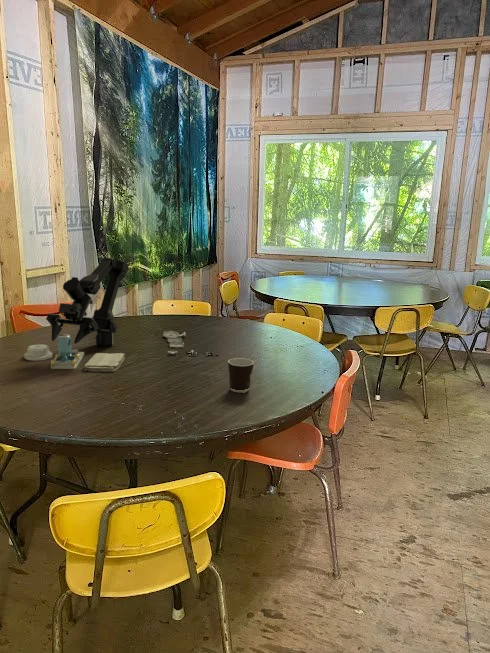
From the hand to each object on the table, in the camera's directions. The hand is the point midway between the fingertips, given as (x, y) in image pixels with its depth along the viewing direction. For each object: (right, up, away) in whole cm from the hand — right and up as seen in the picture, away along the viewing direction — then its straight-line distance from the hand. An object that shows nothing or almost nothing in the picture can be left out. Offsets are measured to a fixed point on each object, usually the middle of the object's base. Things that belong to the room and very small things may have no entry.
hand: (63, 341), depth 168 cm
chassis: (-1, -8, +7) cm, 11 cm away
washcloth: (+13, -9, +6) cm, 18 cm away
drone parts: (+42, -3, +38) cm, 57 cm away
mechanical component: (-14, -7, +11) cm, 19 cm away
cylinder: (0, -8, +2) cm, 8 cm away
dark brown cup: (+65, -16, -12) cm, 68 cm away
